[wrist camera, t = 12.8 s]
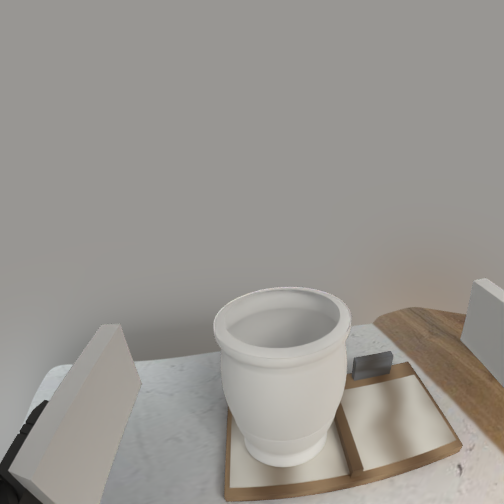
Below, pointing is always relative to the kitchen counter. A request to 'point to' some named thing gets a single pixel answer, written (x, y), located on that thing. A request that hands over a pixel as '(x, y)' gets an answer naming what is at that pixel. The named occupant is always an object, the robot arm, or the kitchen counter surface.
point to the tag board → (353, 438)
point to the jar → (283, 369)
